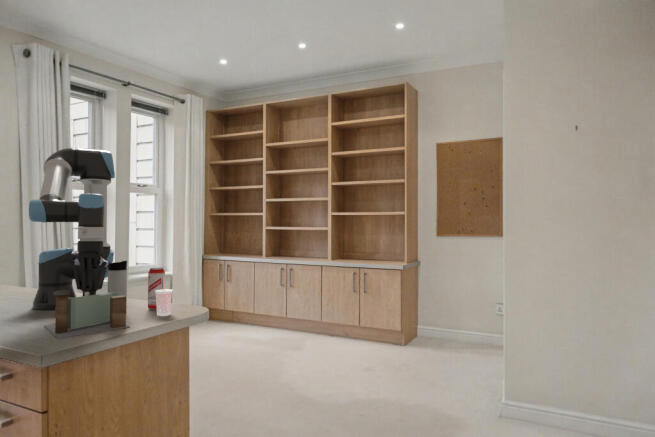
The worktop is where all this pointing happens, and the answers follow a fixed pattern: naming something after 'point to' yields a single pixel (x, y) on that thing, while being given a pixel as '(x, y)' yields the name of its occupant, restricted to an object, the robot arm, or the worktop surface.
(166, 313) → the beverage cup
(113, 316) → the stile
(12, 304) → the worktop surface
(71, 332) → the base mat
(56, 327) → the hinge post
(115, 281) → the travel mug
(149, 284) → the beer can
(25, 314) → the worktop surface
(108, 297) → the gate
